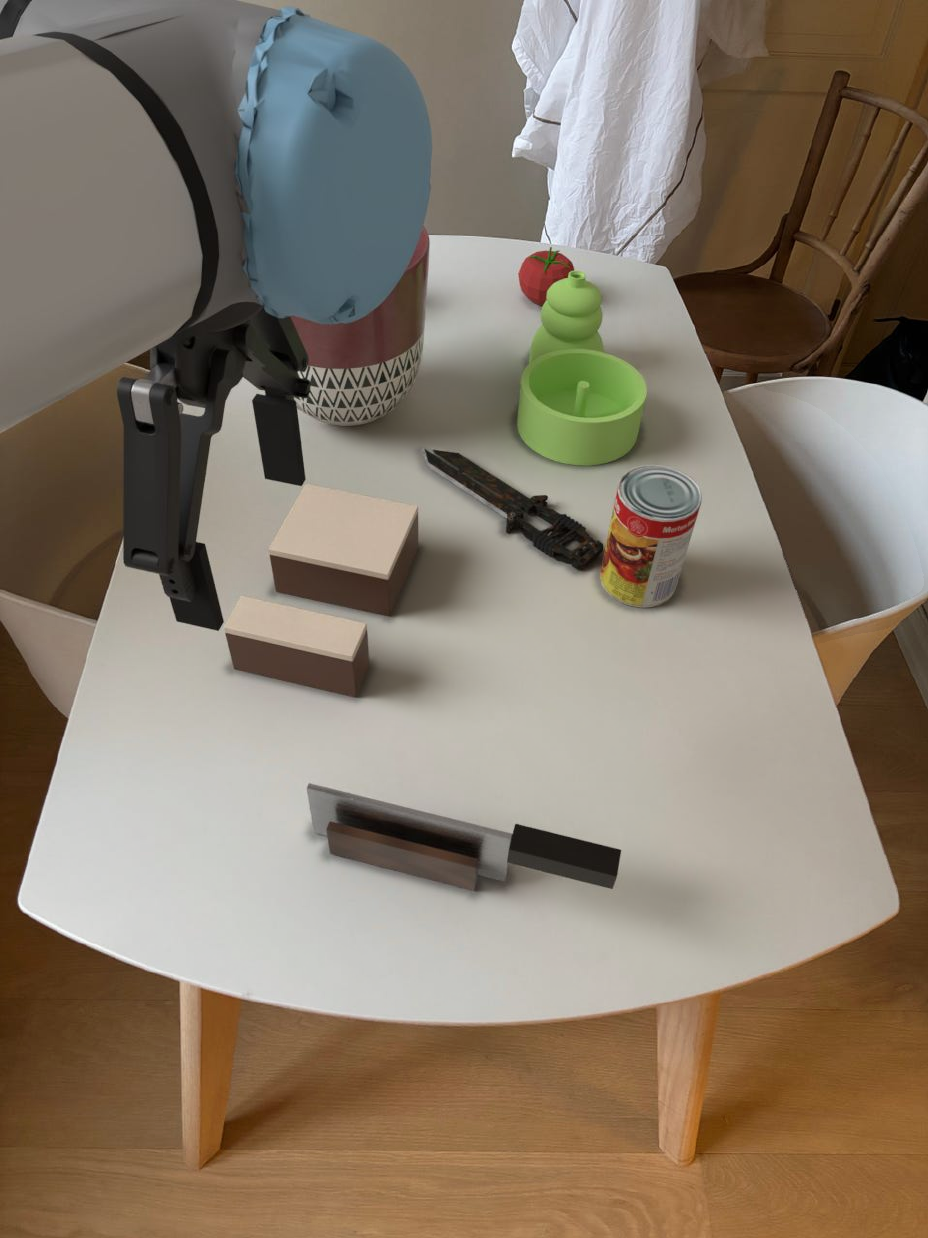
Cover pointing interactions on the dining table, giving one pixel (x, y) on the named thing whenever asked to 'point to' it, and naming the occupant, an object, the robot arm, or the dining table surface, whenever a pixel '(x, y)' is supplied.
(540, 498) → the knife
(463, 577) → the dining table surface
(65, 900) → the dining table surface
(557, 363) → the green piece
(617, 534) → the canned food
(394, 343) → the planter
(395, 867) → the stand
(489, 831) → the cake knife
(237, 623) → the cake slice
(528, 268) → the tomato
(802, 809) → the dining table surface
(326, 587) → the cake
